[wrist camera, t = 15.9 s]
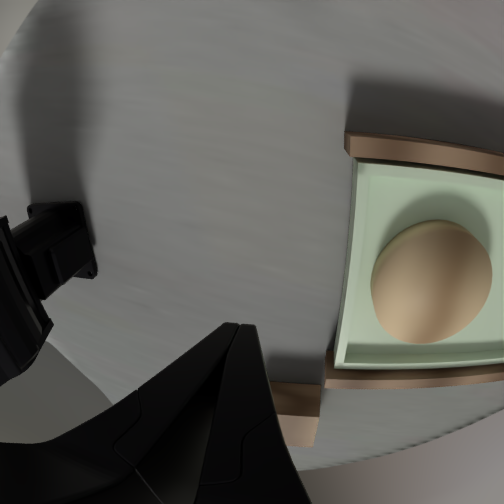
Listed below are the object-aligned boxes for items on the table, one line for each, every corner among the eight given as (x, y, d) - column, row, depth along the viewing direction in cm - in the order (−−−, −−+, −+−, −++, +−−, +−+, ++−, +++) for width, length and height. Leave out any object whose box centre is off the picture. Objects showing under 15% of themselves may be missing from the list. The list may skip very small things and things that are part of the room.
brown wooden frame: (325, 359, 24) (324, 388, 21) (344, 131, 17) (350, 136, 14) (510, 354, 21) (522, 377, 18) (569, 170, 14) (594, 182, 11)
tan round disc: (365, 331, 21) (367, 347, 19) (373, 219, 17) (378, 230, 16) (467, 324, 19) (475, 338, 18) (492, 219, 16) (503, 229, 14)
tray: (333, 349, 23) (331, 482, 13) (353, 156, 17) (404, 229, 7) (506, 346, 20) (551, 445, 11) (558, 187, 14) (660, 257, 4)
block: (262, 413, 28) (256, 442, 25) (262, 380, 26) (255, 412, 23) (314, 417, 28) (312, 447, 24) (320, 384, 25) (319, 417, 22)
